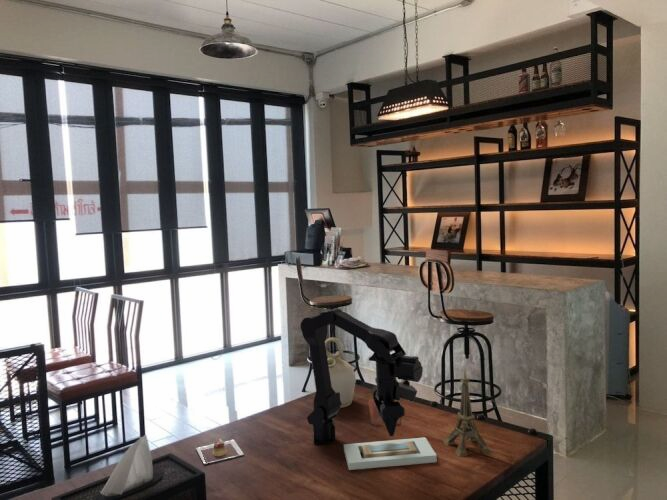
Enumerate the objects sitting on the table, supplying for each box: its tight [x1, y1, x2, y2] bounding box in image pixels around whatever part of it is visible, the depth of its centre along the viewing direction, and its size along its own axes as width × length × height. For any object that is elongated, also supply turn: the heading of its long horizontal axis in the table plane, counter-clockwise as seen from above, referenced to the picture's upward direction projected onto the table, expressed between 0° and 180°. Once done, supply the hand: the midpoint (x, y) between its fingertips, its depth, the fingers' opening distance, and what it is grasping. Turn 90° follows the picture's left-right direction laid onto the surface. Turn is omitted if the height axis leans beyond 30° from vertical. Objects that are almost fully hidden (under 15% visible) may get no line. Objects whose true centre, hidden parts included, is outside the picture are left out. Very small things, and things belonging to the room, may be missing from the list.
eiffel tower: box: [442, 369, 493, 458], centre depth 160 cm, size 11×11×25 cm
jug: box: [313, 336, 357, 409], centre depth 201 cm, size 15×16×25 cm
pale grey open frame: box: [343, 437, 438, 471], centre depth 157 cm, size 25×12×2 cm, turn 95°
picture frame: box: [361, 441, 417, 459], centre depth 157 cm, size 15×6×3 cm, turn 95°
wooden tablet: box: [367, 398, 402, 427], centre depth 192 cm, size 27×10×2 cm, turn 0°
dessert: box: [195, 438, 245, 465], centre depth 164 cm, size 12×12×5 cm
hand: (388, 429), depth 156 cm, fingers open, 9 cm apart
